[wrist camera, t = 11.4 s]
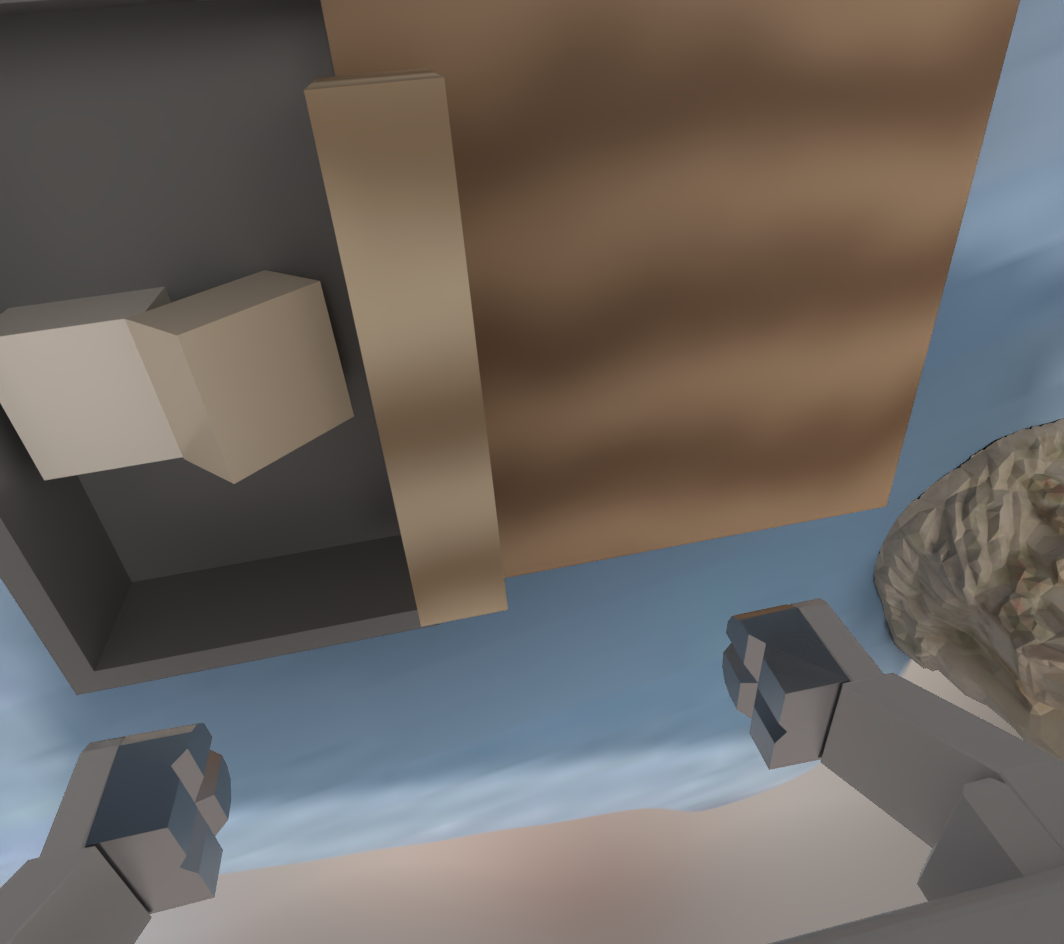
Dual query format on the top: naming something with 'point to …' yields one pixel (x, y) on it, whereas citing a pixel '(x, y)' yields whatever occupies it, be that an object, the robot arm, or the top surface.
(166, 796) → the robot arm
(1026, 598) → the ceramic cottage
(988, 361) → the top surface
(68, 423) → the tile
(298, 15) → the box
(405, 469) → the bar
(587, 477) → the plate
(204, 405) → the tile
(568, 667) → the top surface
